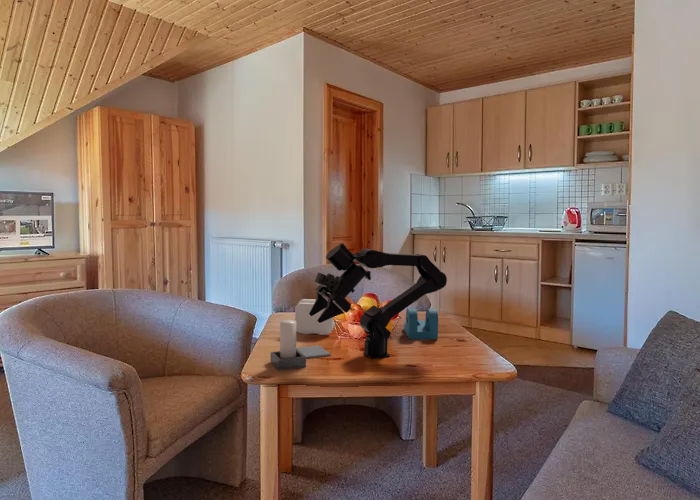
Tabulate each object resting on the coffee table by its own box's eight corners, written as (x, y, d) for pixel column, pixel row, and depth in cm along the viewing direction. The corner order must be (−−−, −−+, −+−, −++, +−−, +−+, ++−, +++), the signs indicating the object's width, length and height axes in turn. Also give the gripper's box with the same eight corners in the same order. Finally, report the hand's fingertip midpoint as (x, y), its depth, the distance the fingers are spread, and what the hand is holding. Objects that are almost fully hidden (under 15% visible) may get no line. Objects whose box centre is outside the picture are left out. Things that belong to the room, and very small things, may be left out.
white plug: (293, 361, 143) (293, 319, 142) (298, 365, 139) (298, 323, 137) (278, 362, 141) (278, 320, 140) (282, 367, 137) (282, 324, 135)
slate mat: (319, 347, 158) (319, 345, 158) (330, 355, 149) (330, 353, 149) (290, 350, 154) (290, 348, 154) (300, 359, 145) (300, 357, 144)
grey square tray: (297, 358, 145) (297, 349, 145) (305, 366, 138) (306, 357, 137) (270, 361, 142) (270, 352, 142) (278, 370, 134) (278, 360, 134)
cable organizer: (292, 334, 174) (292, 303, 173) (299, 327, 184) (299, 298, 184) (332, 335, 172) (332, 305, 171) (336, 328, 183) (336, 299, 182)
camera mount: (437, 339, 169) (438, 311, 168) (409, 339, 169) (409, 311, 168) (428, 327, 187) (429, 301, 186) (402, 327, 187) (402, 301, 186)
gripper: (322, 260, 151) (288, 295, 148) (341, 266, 133) (303, 307, 130) (344, 282, 154) (312, 318, 151) (366, 292, 137) (330, 332, 134)
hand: (314, 318), depth 141 cm, fingers open, 9 cm apart
